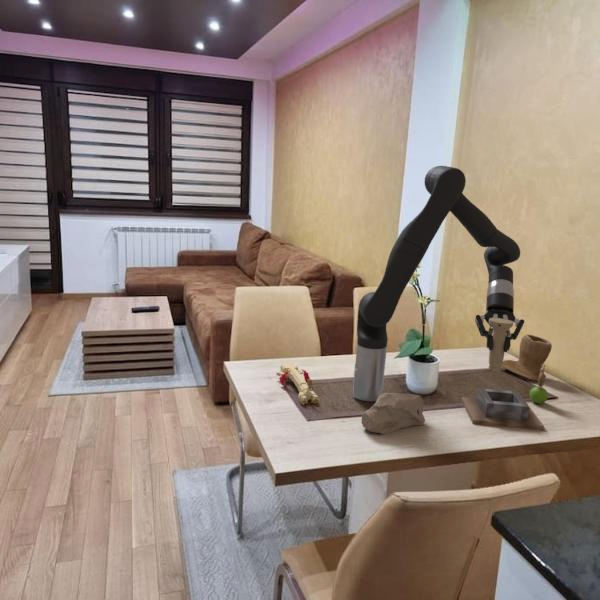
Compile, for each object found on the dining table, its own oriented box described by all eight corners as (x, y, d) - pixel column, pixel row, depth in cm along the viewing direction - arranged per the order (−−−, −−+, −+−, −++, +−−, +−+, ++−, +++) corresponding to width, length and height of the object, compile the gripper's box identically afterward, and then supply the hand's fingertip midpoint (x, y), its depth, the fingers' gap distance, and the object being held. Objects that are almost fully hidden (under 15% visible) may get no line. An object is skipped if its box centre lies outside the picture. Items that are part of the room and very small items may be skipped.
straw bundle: (324, 407, 160) (299, 370, 182) (327, 381, 157) (301, 347, 180) (293, 410, 157) (271, 372, 179) (296, 384, 154) (273, 349, 176)
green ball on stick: (546, 400, 170) (552, 365, 168) (546, 407, 165) (552, 372, 162) (528, 396, 173) (534, 362, 170) (527, 404, 167) (533, 368, 164)
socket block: (472, 423, 151) (475, 405, 150) (461, 400, 167) (463, 383, 165) (543, 430, 150) (546, 411, 148) (525, 406, 165) (528, 389, 164)
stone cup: (553, 380, 189) (560, 340, 185) (530, 384, 183) (538, 344, 180) (519, 365, 202) (525, 328, 198) (497, 369, 196) (503, 331, 193)
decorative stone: (412, 414, 156) (416, 383, 153) (430, 425, 149) (434, 393, 147) (357, 427, 146) (360, 394, 143) (373, 439, 139) (377, 405, 137)
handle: (505, 375, 147) (512, 324, 143) (481, 370, 150) (487, 320, 146) (507, 370, 151) (514, 320, 147) (484, 365, 154) (490, 316, 150)
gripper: (476, 289, 154) (473, 341, 146) (528, 293, 150) (527, 347, 142) (473, 302, 160) (470, 352, 152) (523, 307, 157) (522, 358, 148)
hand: (498, 349), depth 147 cm, fingers closed on handle, 3 cm apart
